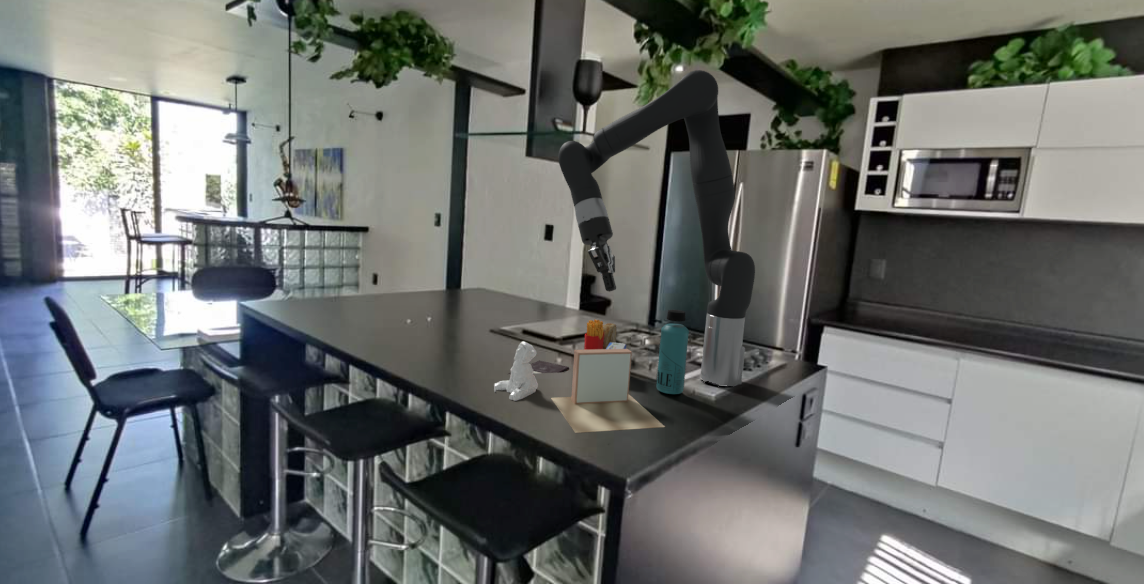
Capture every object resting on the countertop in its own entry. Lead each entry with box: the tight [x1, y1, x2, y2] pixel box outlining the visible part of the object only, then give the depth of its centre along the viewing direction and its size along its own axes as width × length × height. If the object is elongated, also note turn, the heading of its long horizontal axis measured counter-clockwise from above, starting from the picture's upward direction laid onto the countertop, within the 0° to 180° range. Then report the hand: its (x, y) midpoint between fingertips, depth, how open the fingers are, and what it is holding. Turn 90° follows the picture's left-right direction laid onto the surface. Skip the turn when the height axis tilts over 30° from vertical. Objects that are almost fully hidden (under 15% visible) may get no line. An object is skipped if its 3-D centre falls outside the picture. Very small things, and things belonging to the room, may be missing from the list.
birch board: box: [550, 393, 666, 434], centre depth 107 cm, size 18×18×1 cm
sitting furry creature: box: [493, 340, 539, 402], centre depth 115 cm, size 10×9×12 cm
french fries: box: [583, 318, 604, 350], centre depth 141 cm, size 8×4×12 cm, turn 159°
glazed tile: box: [570, 348, 633, 404], centre depth 112 cm, size 12×3×11 cm, turn 107°
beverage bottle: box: [655, 309, 690, 395], centre depth 120 cm, size 6×7×20 cm
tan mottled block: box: [603, 322, 617, 349], centre depth 149 cm, size 10×4×10 cm, turn 162°
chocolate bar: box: [507, 360, 570, 375], centre depth 132 cm, size 9×1×18 cm
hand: (611, 290), depth 123 cm, fingers closed
